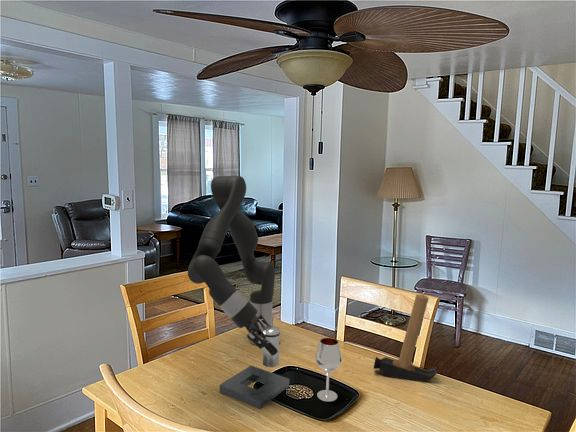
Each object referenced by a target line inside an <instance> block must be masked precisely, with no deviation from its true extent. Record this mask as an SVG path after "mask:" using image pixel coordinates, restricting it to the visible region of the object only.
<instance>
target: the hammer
mask: <svg viewBox="0 0 576 432" xmlns="http://www.w3.org/2000/svg"><path fill="white" fill-rule="evenodd" d="M429 299H430V298H429V296H426V295H424V294H416V295H415V299H414V301H413V302H414V303H413V306H412V310H411V313H410V317H409V321H408V324H407V329H406V332H405V336H404V339H403V342H402V343H403V344H402V347H401V350H400V355H399V358H398V359H392V358H389V357H387V356H386V357H383V358H381V359H380V358H379V357H378V356H375V358H374V364H373V369H375V370H376V369H377V370H378V369H379V371H380V373H381V374H382V375H384V376H388V377H391V378H394V379H398V380H403V381H405V380H406V381H412V382H418V383H427V382H429V381H431V380H433V378H434V377H435V376H436V375H437V371H436V366H433V367H432V368H428V369H427V368H421V367H419V366H415V365H413V364H412V361H413V356H414V353H415V350H416V346H417V342H418V339H419V335H420V332H421V328H422V324H423V320H424V316H425V313H426V310H427V306H428V303H429Z"/></svg>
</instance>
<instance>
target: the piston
mask: <svg viewBox="0 0 576 432" xmlns="http://www.w3.org/2000/svg"><path fill="white" fill-rule="evenodd" d="M280 329H281V328H280V327H278V326H276V325H273V326H266V327H264V328H263V330H264V332H265V333H266V337H267V339H268V340H269V342H271V343H272V344H273V345H274V346H275V348H276V349H277V350H278V352H277V353H276V354H275V355H274V356H272V355H271V354H270V353H269V352H268V351H267V350H266V349H265V347H264V348H262V366H264V367H265V368H275V367H278V366H279V365H280V345H279V341H280V335H281V331H280ZM263 339H264V338H263Z"/></svg>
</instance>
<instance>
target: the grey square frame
mask: <svg viewBox="0 0 576 432" xmlns="http://www.w3.org/2000/svg"><path fill="white" fill-rule="evenodd" d="M253 382H254V383H256V382H260V383H262V384H264V385H262V386H261V387H259V388H257V389H256V388H253V387H250V386H249V385H250V384H251V383H253ZM289 387H290V378H288V377H285V376H282V375H280V374H277V373H273V372H271V371H269V370H266V369H262V368H259V367H256V366H254V365H249V366H248V367H246V368H245V369H242V370H241V371H239V372H238V373H236V374H235V375H233V376H231V377H230V378H229V379H226V380H225V381H223V382H222V383H219V393H220V394H223V395H226V396H228V397H230V398H232V399H235V400H237V401H240V402H242V403H244V404H247V405H249V406H251V407H255V408H256V409H259V410H261V409H262V408H263V407H264V406H266V405H267V404H268V403H270V402H271V401H272V400H273V399H275V398H276V397H277V396H279V395H280V394H281V393H282V392H284V391H285V390H286V389H288V388H289ZM278 394H279V395H278ZM272 398H273V399H272ZM271 399H272V400H271Z"/></svg>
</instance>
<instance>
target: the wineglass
mask: <svg viewBox="0 0 576 432" xmlns="http://www.w3.org/2000/svg"><path fill="white" fill-rule="evenodd" d="M342 358H343V356H342V351H341V348H340V343H339V340H338V339H336V338H334V337H333V338H332V337H324V338H321V339H320V340H319V341H318V347H317V350H316V353H315V363H316V366H318V367H319V369H321V370H322V371H323V372H324V373H325V376H326V380H325V382H326V383H325V384H326V385H325V389H322V390H320V391H318V392H317V393H316V394H317V398H318V399H319V400H321V401H323V402H334V401H337V399H338V394H337V393H336V392H335V391H333V390H330V375H331V373H333V372H334V371H336V370H337V369H338V368H339V367H340V365H341V364H342V360H343V359H342Z"/></svg>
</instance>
